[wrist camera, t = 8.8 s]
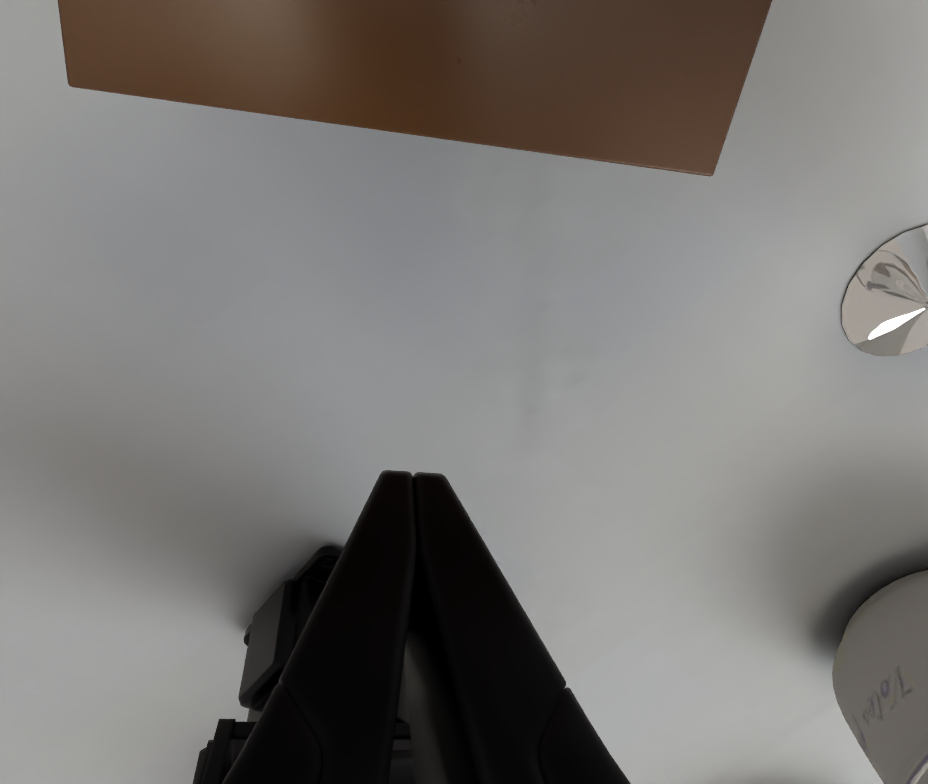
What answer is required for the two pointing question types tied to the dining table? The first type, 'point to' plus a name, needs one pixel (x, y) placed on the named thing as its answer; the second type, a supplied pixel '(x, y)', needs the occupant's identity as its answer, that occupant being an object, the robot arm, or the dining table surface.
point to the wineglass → (890, 297)
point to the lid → (443, 67)
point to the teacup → (888, 679)
